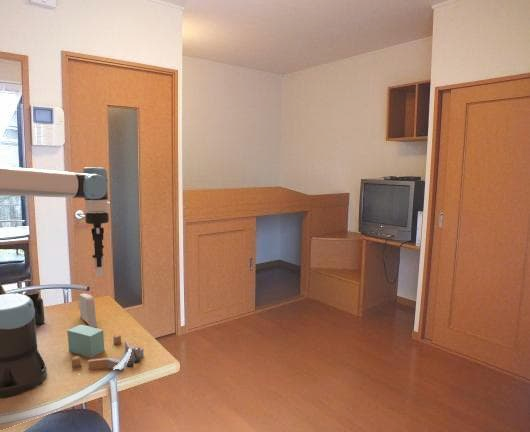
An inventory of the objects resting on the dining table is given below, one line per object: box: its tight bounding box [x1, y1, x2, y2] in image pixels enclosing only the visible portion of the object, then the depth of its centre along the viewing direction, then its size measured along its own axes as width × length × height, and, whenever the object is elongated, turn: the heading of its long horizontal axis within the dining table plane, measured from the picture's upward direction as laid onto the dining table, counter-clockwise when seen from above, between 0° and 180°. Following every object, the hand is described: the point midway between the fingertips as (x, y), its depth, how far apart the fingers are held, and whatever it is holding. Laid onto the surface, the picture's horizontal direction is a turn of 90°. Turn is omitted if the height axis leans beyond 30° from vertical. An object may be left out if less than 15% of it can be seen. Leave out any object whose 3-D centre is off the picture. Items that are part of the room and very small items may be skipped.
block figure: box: [71, 334, 145, 370], centre depth 120 cm, size 18×15×2 cm
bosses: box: [125, 346, 142, 369], centre depth 117 cm, size 5×2×4 cm, turn 155°
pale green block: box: [67, 324, 105, 358], centre depth 125 cm, size 5×10×7 cm, turn 65°
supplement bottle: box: [23, 290, 46, 327], centre depth 145 cm, size 7×7×12 cm
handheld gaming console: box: [77, 293, 98, 328], centre depth 148 cm, size 11×3×15 cm
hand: (99, 271), depth 140 cm, fingers open, 13 cm apart
